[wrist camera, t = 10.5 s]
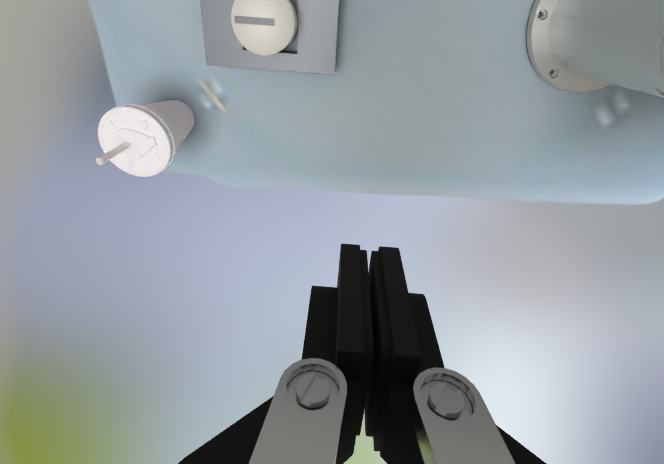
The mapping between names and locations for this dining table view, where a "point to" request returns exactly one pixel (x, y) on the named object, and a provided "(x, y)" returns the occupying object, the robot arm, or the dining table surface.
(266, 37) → the knob
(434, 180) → the dining table surface
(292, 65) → the mount
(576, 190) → the dining table surface
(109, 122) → the smoothie
